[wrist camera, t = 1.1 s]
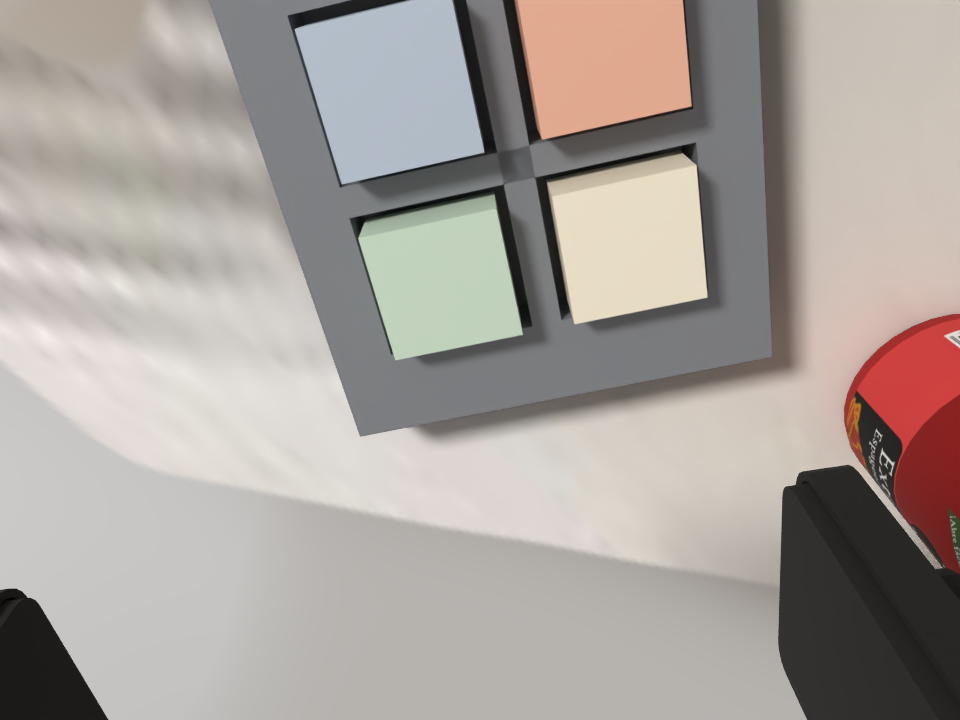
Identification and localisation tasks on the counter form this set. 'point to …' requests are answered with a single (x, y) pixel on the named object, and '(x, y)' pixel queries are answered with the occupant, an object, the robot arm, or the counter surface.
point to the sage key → (442, 276)
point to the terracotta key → (602, 61)
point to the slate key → (392, 87)
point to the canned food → (914, 430)
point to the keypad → (515, 214)
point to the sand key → (629, 236)
